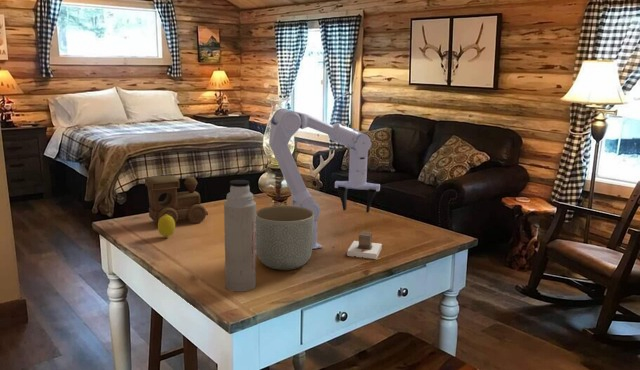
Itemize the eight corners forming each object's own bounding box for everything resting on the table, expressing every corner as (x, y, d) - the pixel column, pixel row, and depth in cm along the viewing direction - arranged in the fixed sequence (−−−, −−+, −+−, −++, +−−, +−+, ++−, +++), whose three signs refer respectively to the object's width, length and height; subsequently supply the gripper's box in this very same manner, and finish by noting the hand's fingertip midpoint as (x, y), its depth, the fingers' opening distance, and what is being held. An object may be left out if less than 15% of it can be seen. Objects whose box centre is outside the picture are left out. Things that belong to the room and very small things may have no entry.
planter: (282, 250, 172) (283, 202, 168) (324, 263, 161) (326, 213, 158) (242, 264, 159) (242, 213, 155) (285, 280, 148) (286, 225, 145)
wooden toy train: (153, 230, 188) (151, 182, 184) (145, 221, 197) (143, 176, 194) (209, 222, 198) (209, 177, 194) (199, 214, 207) (198, 171, 204)
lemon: (154, 238, 179) (153, 214, 177) (166, 234, 184) (165, 211, 182) (167, 241, 177) (166, 217, 175) (179, 236, 181) (178, 213, 180)
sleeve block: (376, 259, 166) (376, 253, 165) (347, 255, 168) (347, 250, 167) (381, 248, 175) (381, 243, 175) (353, 245, 177) (354, 240, 177)
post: (369, 254, 169) (370, 236, 168) (357, 253, 170) (358, 234, 169) (371, 250, 173) (372, 232, 171) (360, 249, 174) (361, 231, 172)
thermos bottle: (259, 281, 147) (260, 178, 141) (250, 293, 139) (249, 185, 133) (231, 278, 149) (230, 176, 142) (220, 289, 141) (218, 183, 135)
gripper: (382, 169, 178) (380, 209, 181) (338, 166, 182) (337, 205, 185) (379, 173, 172) (376, 215, 175) (333, 169, 175) (332, 211, 178)
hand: (356, 210), depth 179 cm, fingers open, 7 cm apart
